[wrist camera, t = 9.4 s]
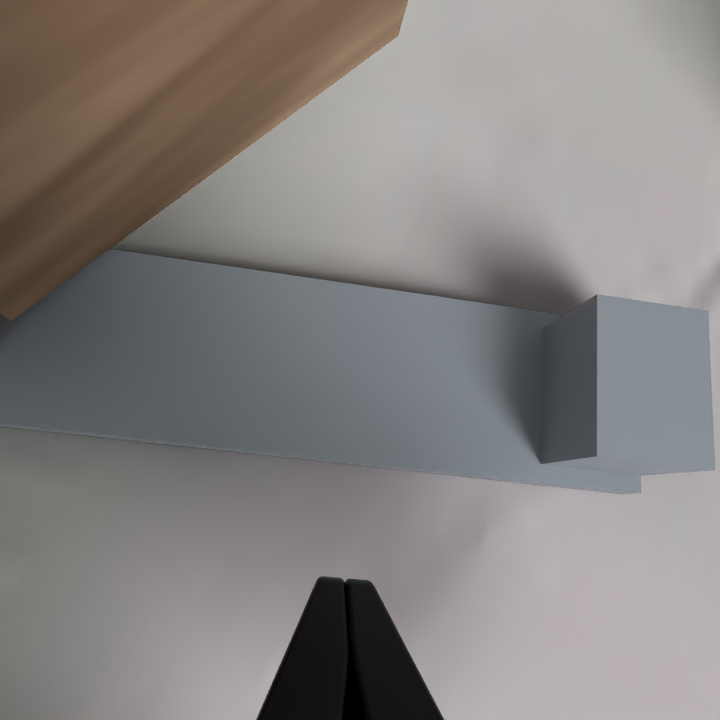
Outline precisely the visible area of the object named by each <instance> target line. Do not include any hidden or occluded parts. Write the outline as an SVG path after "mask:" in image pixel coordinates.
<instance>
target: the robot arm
mask: <svg viewBox="0 0 720 720" xmlns="http://www.w3.org/2000/svg"><path fill="white" fill-rule="evenodd" d="M256 720H444V718H443V716H442V715H441V713H440V711H439V709H438V707H437V705H436V703H435V701H434V699H433V697H432V695H431V694H430V692H429V690H428V688H427V686H426V684H425V682H424V680H423V678H422V676H421V674H420V673H419V671H418V669H417V667H416V665H415V663H414V661H413V659H412V657H411V655H410V653H409V652H408V650H407V648H406V646H405V644H404V642H403V640H402V638H401V636H400V634H399V632H398V631H397V629H396V627H395V625H394V623H393V621H392V619H391V617H390V615H389V613H388V611H387V610H386V608H385V606H384V604H383V602H382V600H381V598H380V596H379V594H378V592H377V590H376V589H375V587H374V585H373V584H372V583H371V582H370V581H368V580H359V579H347V580H346V581H345V582H344V580H343V579H341V578H335V577H324V576H321V577H319V578H318V579H317V581H316V583H315V585H314V588H313V590H312V592H311V595H310V597H309V599H308V602H307V604H306V606H305V608H304V611H303V613H302V615H301V618H300V620H299V622H298V625H297V627H296V629H295V631H294V634H293V636H292V638H291V641H290V643H289V645H288V648H287V650H286V652H285V655H284V657H283V659H282V661H281V664H280V666H279V668H278V671H277V673H276V675H275V678H274V680H273V682H272V684H271V687H270V689H269V691H268V694H267V696H266V698H265V701H264V703H263V705H262V708H261V710H260V712H259V714H258V717H257V719H256Z"/></svg>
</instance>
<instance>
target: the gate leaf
mask: <svg viewBox="0 0 720 720" xmlns="http://www.w3.org/2000/svg"><path fill="white" fill-rule="evenodd" d="M407 2H408V0H0V339H1V338H2V337H3V336H4V335H5V334H6V332H7V331H8V329H9V327H10V325H11V321H13V320H14V319H15V318H17V317H18V316H19V315H21V314H22V313H24V312H25V311H26V310H28V309H29V308H30V307H32V306H33V305H34V304H36V303H37V302H38V301H40V300H41V299H43V298H44V297H45V296H47V295H48V294H49V293H51V292H52V291H53V290H55V289H56V288H57V287H59V286H60V285H61V284H63V283H64V282H66V281H67V280H68V279H70V278H71V277H72V276H74V275H75V274H76V273H78V272H79V271H80V270H82V269H83V268H84V267H86V266H87V265H89V264H90V263H91V262H93V261H94V260H95V259H97V258H98V257H99V256H101V255H102V254H103V253H105V252H106V251H107V250H109V249H110V248H112V247H113V246H114V245H116V244H117V243H118V242H120V241H121V240H122V239H124V238H125V237H126V236H128V235H129V234H130V233H132V232H133V231H135V230H136V229H137V228H139V227H140V226H141V225H143V224H144V223H145V222H147V221H148V220H149V219H151V218H152V217H153V216H155V215H156V214H158V213H159V212H160V211H162V210H163V209H164V208H166V207H167V206H168V205H170V204H171V203H172V202H174V201H175V200H177V199H178V198H179V197H181V196H182V195H183V194H185V193H186V192H187V191H189V190H190V189H191V188H193V187H194V186H195V185H197V184H198V183H200V182H201V181H202V180H204V179H205V178H206V177H208V176H209V175H210V174H212V173H213V172H214V171H216V170H217V169H218V168H220V167H221V166H223V165H224V164H225V163H227V162H228V161H229V160H231V159H232V158H233V157H235V156H236V155H237V154H239V153H240V152H241V151H243V150H244V149H246V148H247V147H248V146H250V145H251V144H252V143H254V142H255V141H256V140H258V139H259V138H260V137H262V136H263V135H264V134H266V133H267V132H269V131H270V130H271V129H273V128H274V127H275V126H277V125H278V124H279V123H281V122H282V121H283V120H285V119H286V118H287V117H289V116H290V115H292V114H293V113H294V112H296V111H297V110H298V109H300V108H301V107H302V106H304V105H305V104H306V103H308V102H309V101H311V100H312V99H313V98H315V97H316V96H317V95H319V94H320V93H321V92H323V91H324V90H325V89H327V88H328V87H329V86H331V85H332V84H334V83H335V82H336V81H338V80H339V79H340V78H342V77H343V76H344V75H346V74H347V73H348V72H350V71H351V70H352V69H354V68H355V67H357V66H358V65H359V64H361V63H362V62H363V61H365V60H366V59H367V58H369V57H370V56H371V55H373V54H374V53H375V52H377V51H378V50H380V49H381V48H382V47H384V46H385V45H386V44H388V43H389V42H390V41H392V40H393V39H394V38H396V37H397V36H398V34H399V30H400V27H401V23H402V20H403V16H404V13H405V9H406V6H407Z"/></svg>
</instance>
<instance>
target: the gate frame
mask: <svg viewBox="0 0 720 720" xmlns="http://www.w3.org/2000/svg"><path fill="white" fill-rule="evenodd" d="M0 426H1V427H10V428H19V429H29V430H38V431H47V432H56V433H65V434H75V435H84V436H93V437H102V438H112V439H121V440H130V441H139V442H148V443H158V444H167V445H176V446H185V447H194V448H204V449H213V450H222V451H231V452H241V453H250V454H259V455H268V456H277V457H287V458H296V459H305V460H314V461H324V462H333V463H342V464H351V465H360V466H370V467H379V468H388V469H397V470H406V471H416V472H425V473H434V474H443V475H453V476H462V477H471V478H480V479H489V480H499V481H508V482H517V483H526V484H535V485H545V486H554V487H563V488H572V489H582V490H591V491H600V492H609V493H618V494H633V493H641V475H654V474H668V473H682V472H696V471H710V470H715V457H714V434H713V412H712V389H711V366H710V344H709V321H708V311H704V310H698V309H691V308H684V307H678V306H671V305H664V304H658V303H651V302H644V301H638V300H631V299H624V298H618V297H611V296H604V295H598V294H597V295H596V296H594V297H592V298H591V299H589V300H588V301H586V302H584V303H583V304H581V305H580V306H578V307H577V308H575V309H573V310H572V311H570V312H569V313H567V314H565V315H563V314H556V313H549V312H542V311H536V310H529V309H522V308H515V307H508V306H501V305H494V304H487V303H480V302H473V301H466V300H460V299H453V298H446V297H439V296H432V295H425V294H418V293H411V292H404V291H397V290H391V289H384V288H377V287H370V286H363V285H356V284H349V283H342V282H335V281H328V280H322V279H315V278H308V277H301V276H294V275H287V274H280V273H273V272H266V271H259V270H252V269H246V268H239V267H232V266H225V265H218V264H211V263H204V262H197V261H190V260H183V259H177V258H170V257H163V256H156V255H149V254H142V253H135V252H128V251H121V250H114V249H109V250H107V251H106V252H105V253H103V254H102V255H101V256H99V257H98V258H97V259H95V260H94V261H93V262H91V263H90V264H89V265H87V266H86V267H84V268H83V269H82V270H80V271H79V272H78V273H76V274H75V275H74V276H72V277H71V278H70V279H68V280H67V281H66V282H64V283H63V284H61V285H60V286H59V287H57V288H56V289H55V290H53V291H52V292H51V293H49V294H48V295H47V296H45V297H44V298H43V299H41V300H40V301H38V302H37V303H36V304H34V305H33V306H32V307H30V308H29V309H28V310H26V311H25V312H24V313H22V314H21V315H19V316H18V317H17V318H15V319H14V320H13V321H11V325H10V327H9V329H8V331H7V332H6V334H5V335H4V336H3V337H2V338H1V339H0Z"/></svg>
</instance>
